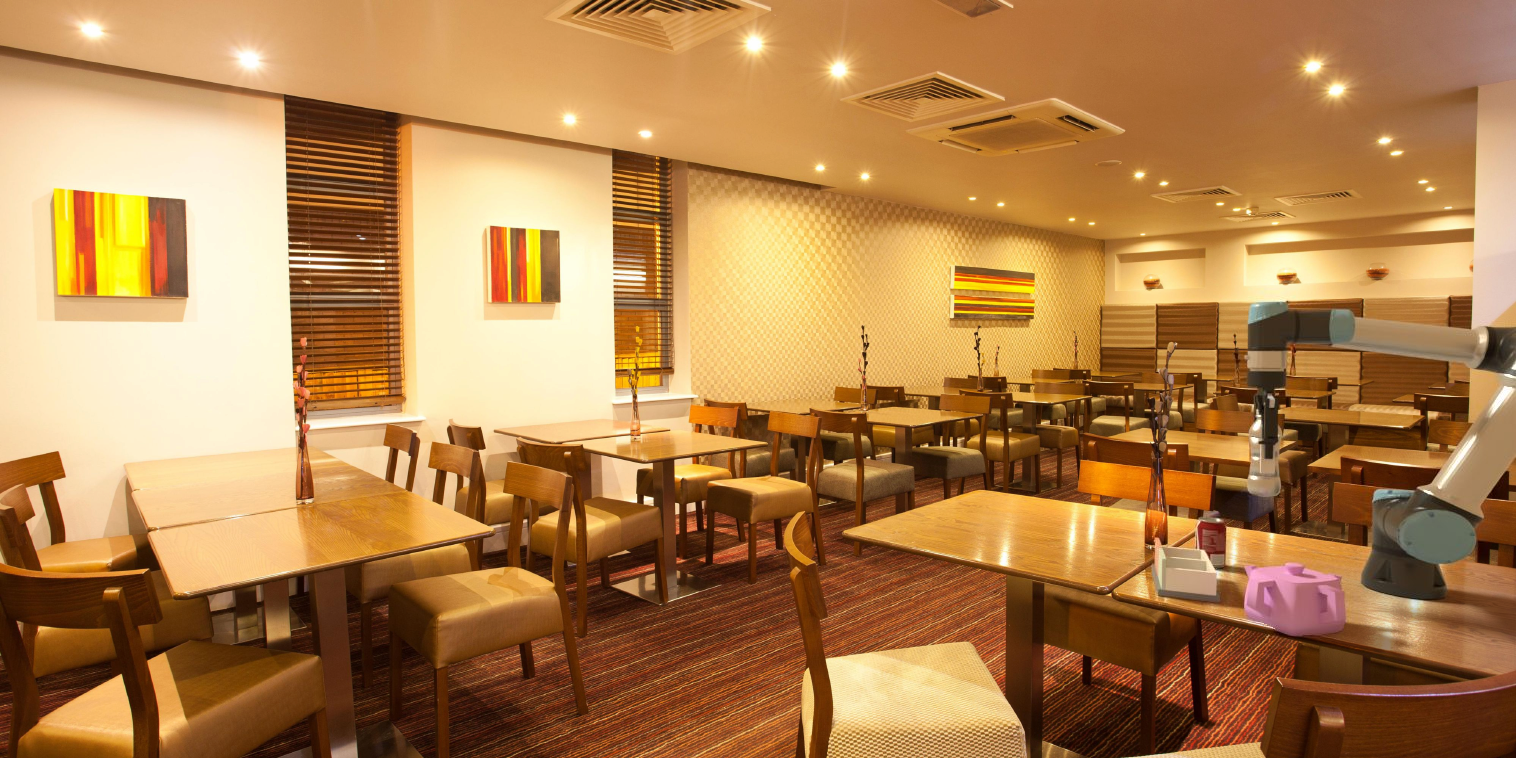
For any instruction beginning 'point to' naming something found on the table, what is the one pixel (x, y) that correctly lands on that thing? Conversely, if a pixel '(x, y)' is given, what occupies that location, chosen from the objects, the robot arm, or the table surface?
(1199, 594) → the socket board
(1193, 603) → the table surface
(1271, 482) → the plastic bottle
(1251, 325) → the robot arm
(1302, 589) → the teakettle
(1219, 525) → the soda can
